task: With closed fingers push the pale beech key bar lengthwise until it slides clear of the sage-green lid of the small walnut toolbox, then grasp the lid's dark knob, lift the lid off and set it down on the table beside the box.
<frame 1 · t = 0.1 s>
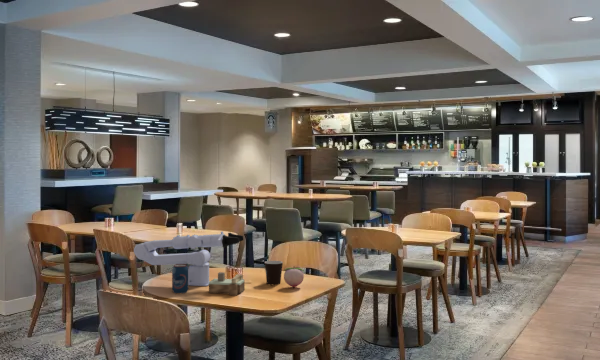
hand: (241, 239, 266), 22 cm above the table, tool horizontal, fingers open, 7 cm apart
decorative fruit: (294, 288, 263), on the table
toolbox: (226, 291, 254), on the table
lid: (226, 278, 254), point 6 cm above the table, touching toolbox
soda can: (180, 292, 254), on the table
coffee mug: (274, 283, 274), on the table
key: (236, 278, 254), point 6 cm above the table, slide at 0.0 cm
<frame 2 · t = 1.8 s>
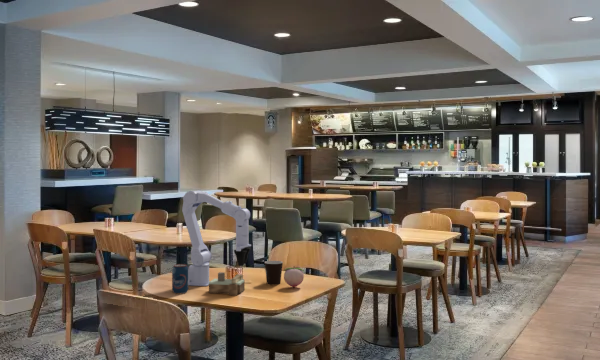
hand: (242, 264, 263), 10 cm above the table, tool pointing down, fingers open, 5 cm apart
nothing on the table moved.
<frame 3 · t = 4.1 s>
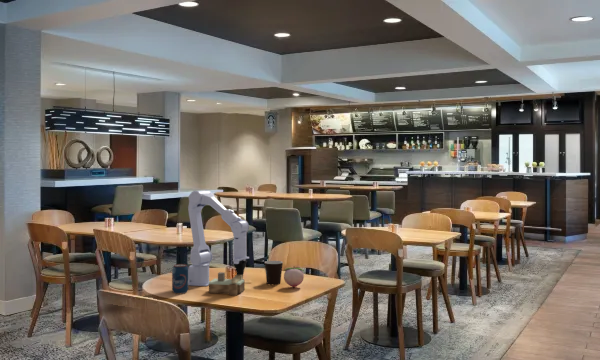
hand: (240, 277, 259), 5 cm above the table, tool pointing down, fingers closed
key: (236, 278, 253), point 6 cm above the table, slide at 0.3 cm, touching gripper
everything else where it was.
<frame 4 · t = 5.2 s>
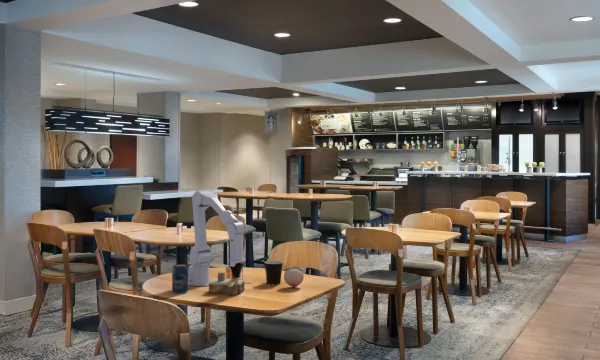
hand: (236, 280, 253), 5 cm above the table, tool pointing down, fingers closed
key: (232, 281, 247), point 6 cm above the table, slide at 6.7 cm, touching gripper
everything else where it was.
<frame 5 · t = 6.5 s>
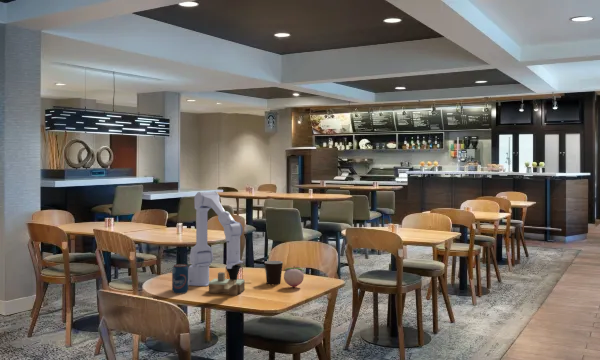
hand: (233, 282, 248), 5 cm above the table, tool pointing down, fingers closed
key: (229, 284, 242), point 6 cm above the table, slide at 11.6 cm, touching gripper
everything else where it was.
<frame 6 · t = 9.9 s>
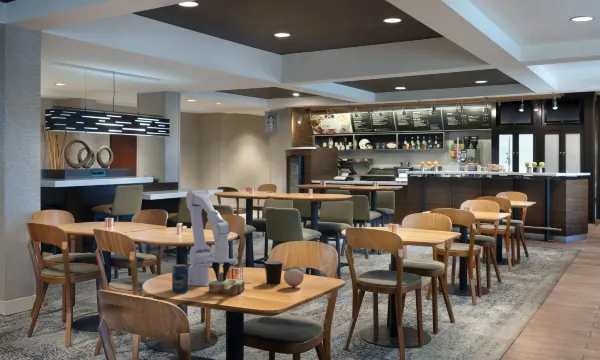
hand: (221, 279, 255), 5 cm above the table, tool pointing down, fingers closed on lid, 2 cm apart
lid: (226, 278, 254), point 6 cm above the table, touching gripper, toolbox
key: (229, 284, 242), point 6 cm above the table, slide at 11.7 cm
everything else where it was.
when the fingers open (3 cm above the table, at t = 13.0 s): lid drops 1 cm, on the table.
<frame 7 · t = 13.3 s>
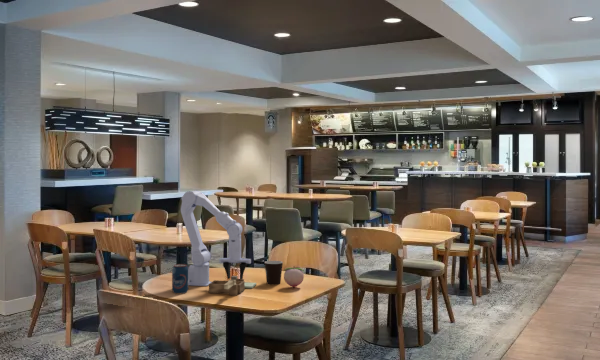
hand: (235, 278, 266), 3 cm above the table, tool pointing down, fingers open, 5 cm apart
lid: (239, 281, 265), on the table
everything else where it was.
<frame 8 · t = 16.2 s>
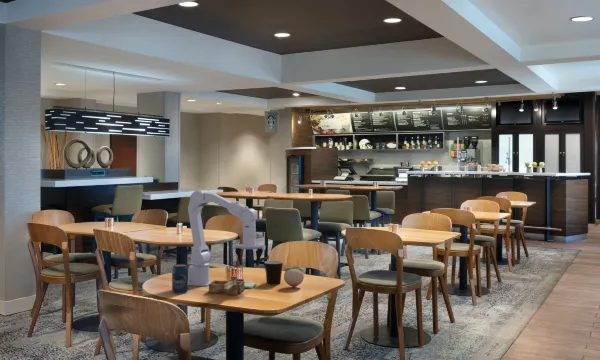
hand: (249, 265, 262), 10 cm above the table, tool pointing down, fingers open, 7 cm apart
nothing on the table moved.
at the end: key slide at 11.7 cm; lid inside the target area (0.5 cm from its centre), on the table; lid touching table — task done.
